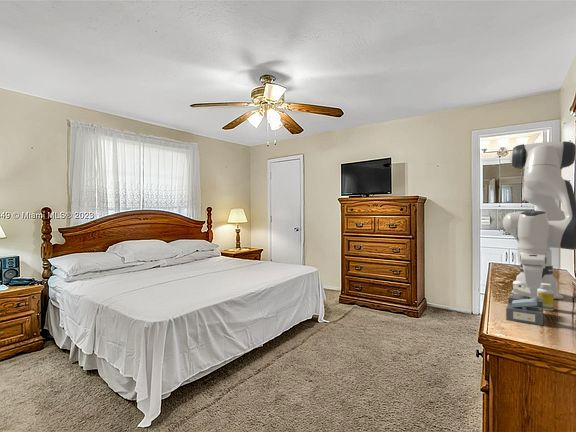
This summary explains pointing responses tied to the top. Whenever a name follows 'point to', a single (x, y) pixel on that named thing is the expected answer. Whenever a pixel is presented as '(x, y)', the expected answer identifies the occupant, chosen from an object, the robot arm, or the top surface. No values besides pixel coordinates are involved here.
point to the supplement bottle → (546, 296)
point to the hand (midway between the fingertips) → (533, 297)
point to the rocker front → (524, 302)
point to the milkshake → (519, 285)
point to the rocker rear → (523, 291)
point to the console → (525, 311)
